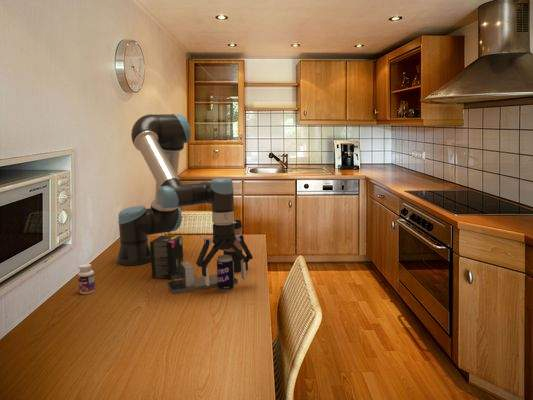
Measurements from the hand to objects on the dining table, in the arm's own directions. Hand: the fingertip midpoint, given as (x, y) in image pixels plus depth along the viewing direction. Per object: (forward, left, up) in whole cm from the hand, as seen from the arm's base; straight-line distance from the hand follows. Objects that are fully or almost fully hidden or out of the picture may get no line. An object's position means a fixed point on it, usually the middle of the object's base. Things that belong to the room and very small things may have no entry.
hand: (225, 281), depth 165 cm
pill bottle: (-20, -45, -3) cm, 50 cm away
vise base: (-9, -6, -3) cm, 11 cm away
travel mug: (-20, +10, -3) cm, 23 cm away
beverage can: (0, 0, -3) cm, 3 cm away
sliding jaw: (-9, -13, -2) cm, 16 cm away
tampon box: (-26, -15, -3) cm, 30 cm away
